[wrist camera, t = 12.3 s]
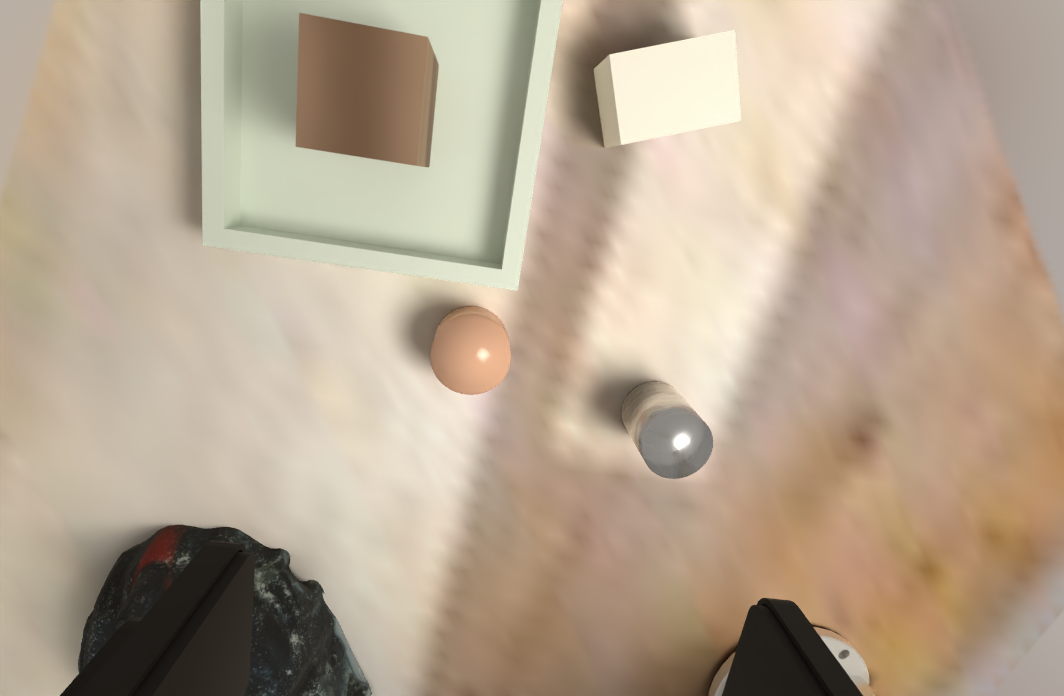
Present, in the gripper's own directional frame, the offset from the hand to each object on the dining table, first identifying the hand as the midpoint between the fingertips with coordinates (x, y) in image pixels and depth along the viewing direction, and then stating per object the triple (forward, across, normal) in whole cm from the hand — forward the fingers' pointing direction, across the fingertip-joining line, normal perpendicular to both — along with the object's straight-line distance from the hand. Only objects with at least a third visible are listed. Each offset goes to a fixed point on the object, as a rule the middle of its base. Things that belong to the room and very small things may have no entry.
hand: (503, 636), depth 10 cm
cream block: (+24, -6, -14) cm, 28 cm away
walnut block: (+22, +8, -11) cm, 26 cm away
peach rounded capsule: (+24, +2, +1) cm, 24 cm away
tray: (+23, +8, -11) cm, 27 cm away
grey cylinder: (+24, -10, +4) cm, 27 cm away
